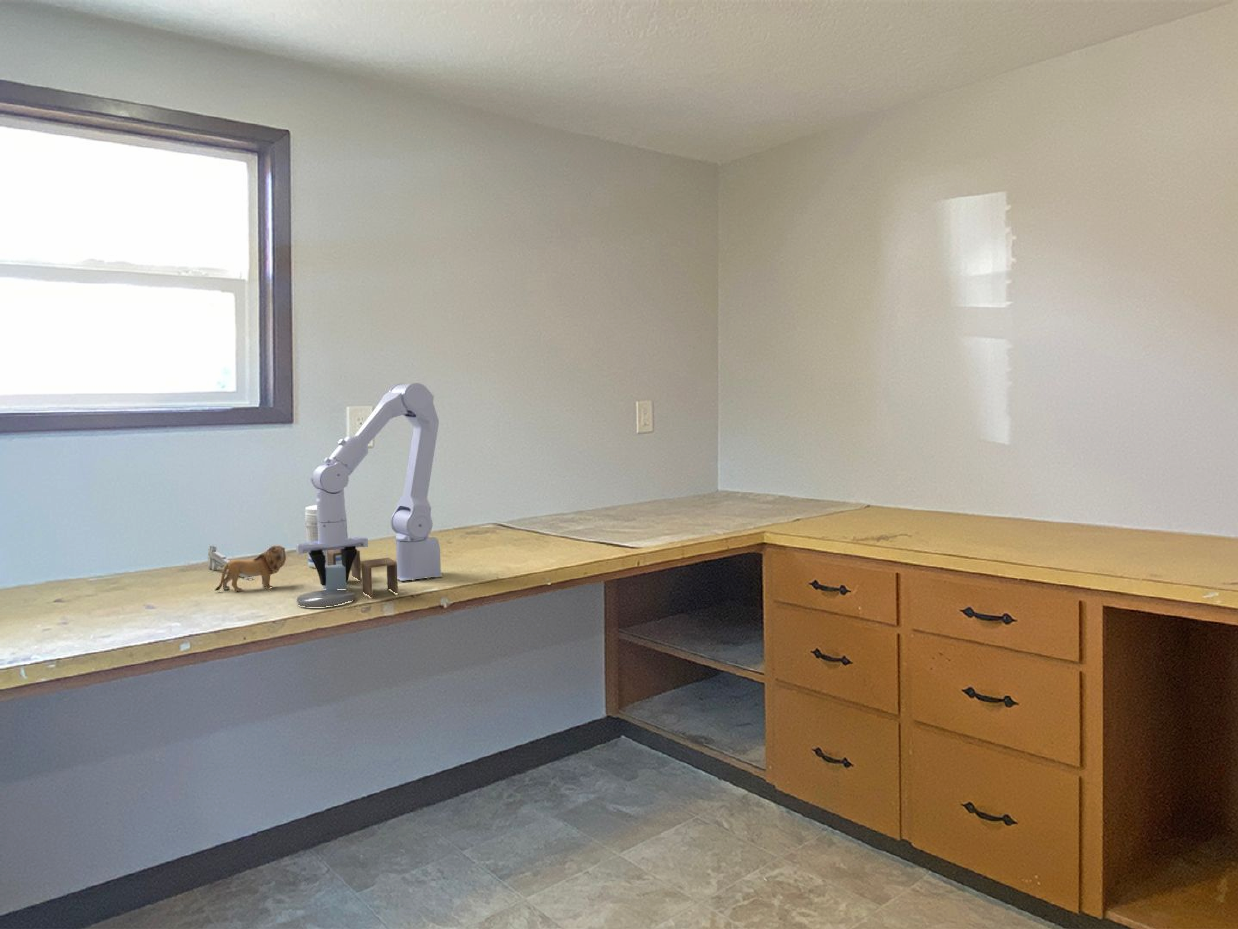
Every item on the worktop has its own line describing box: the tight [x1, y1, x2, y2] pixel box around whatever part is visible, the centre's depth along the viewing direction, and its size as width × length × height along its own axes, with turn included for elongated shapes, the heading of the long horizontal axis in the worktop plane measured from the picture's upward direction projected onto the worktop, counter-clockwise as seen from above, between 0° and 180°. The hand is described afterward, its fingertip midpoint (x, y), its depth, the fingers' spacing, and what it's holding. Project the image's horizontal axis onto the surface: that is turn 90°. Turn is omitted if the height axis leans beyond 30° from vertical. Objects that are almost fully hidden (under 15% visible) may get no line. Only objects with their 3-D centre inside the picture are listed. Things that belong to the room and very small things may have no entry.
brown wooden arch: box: [327, 548, 362, 581], centre depth 191 cm, size 6×6×7 cm
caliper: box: [207, 544, 254, 580], centre depth 200 cm, size 20×1×6 cm, turn 51°
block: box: [322, 564, 347, 590], centre depth 182 cm, size 4×4×5 cm
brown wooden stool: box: [360, 557, 399, 597], centre depth 177 cm, size 6×6×7 cm
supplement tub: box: [304, 504, 349, 569], centre depth 208 cm, size 10×10×15 cm
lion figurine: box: [214, 544, 287, 592], centre depth 185 cm, size 15×5×9 cm, turn 121°
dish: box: [296, 589, 355, 607], centre depth 172 cm, size 11×11×1 cm
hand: (334, 583), depth 182 cm, fingers closed on block, 4 cm apart
